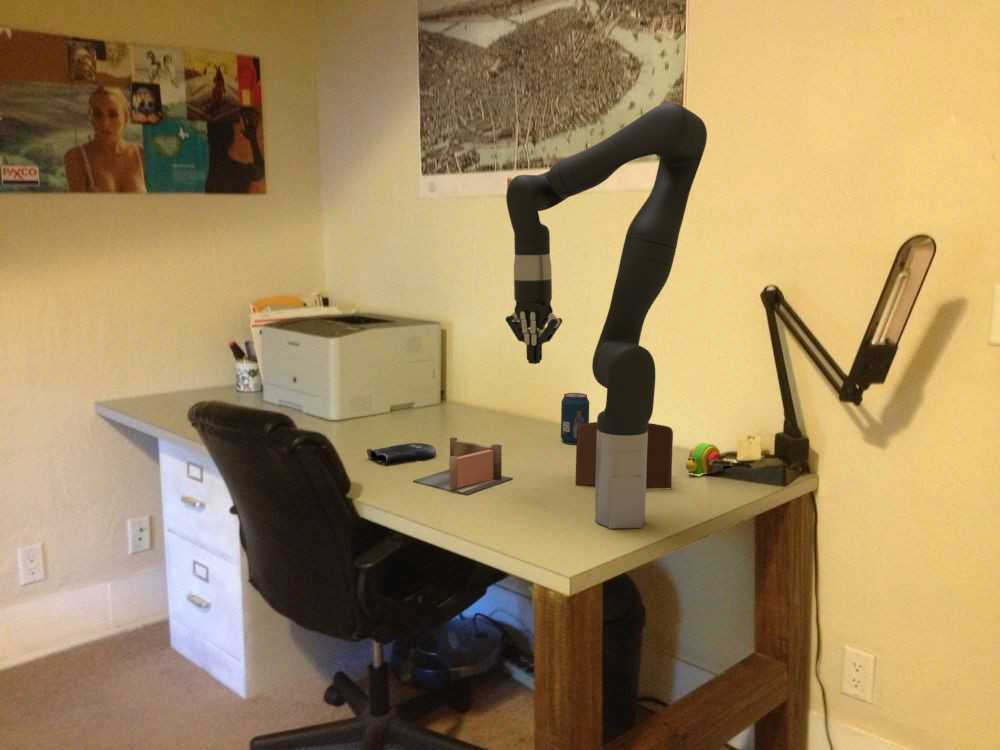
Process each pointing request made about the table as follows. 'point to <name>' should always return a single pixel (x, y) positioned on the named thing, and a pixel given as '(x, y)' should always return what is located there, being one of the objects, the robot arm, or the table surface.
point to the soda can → (573, 415)
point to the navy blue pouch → (403, 453)
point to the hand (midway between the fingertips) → (534, 363)
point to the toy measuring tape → (701, 457)
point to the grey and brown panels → (462, 449)
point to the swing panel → (471, 468)
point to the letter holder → (656, 455)
